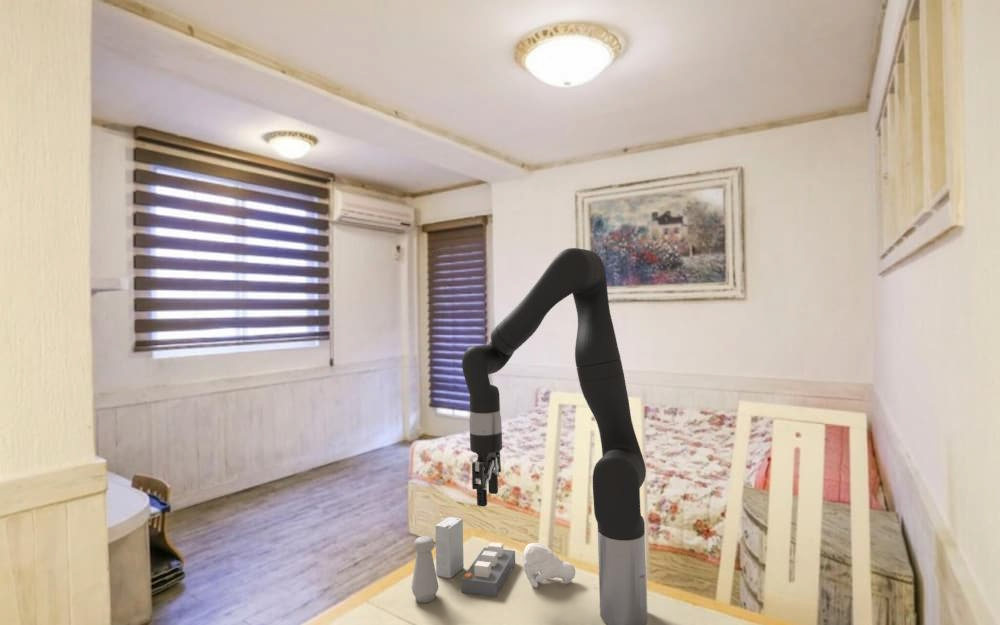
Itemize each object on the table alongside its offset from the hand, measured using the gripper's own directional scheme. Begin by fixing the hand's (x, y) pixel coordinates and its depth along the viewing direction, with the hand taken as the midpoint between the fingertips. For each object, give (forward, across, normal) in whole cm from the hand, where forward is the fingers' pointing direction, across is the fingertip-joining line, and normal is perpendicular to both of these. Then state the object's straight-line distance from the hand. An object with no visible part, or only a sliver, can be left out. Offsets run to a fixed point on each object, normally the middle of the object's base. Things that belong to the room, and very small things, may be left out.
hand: (488, 499), depth 123 cm
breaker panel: (+18, 0, 0) cm, 18 cm away
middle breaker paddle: (+15, 0, 0) cm, 15 cm away
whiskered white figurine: (+19, +1, -14) cm, 23 cm away
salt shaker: (+18, -12, +11) cm, 25 cm away
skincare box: (+18, 0, +10) cm, 21 cm away
